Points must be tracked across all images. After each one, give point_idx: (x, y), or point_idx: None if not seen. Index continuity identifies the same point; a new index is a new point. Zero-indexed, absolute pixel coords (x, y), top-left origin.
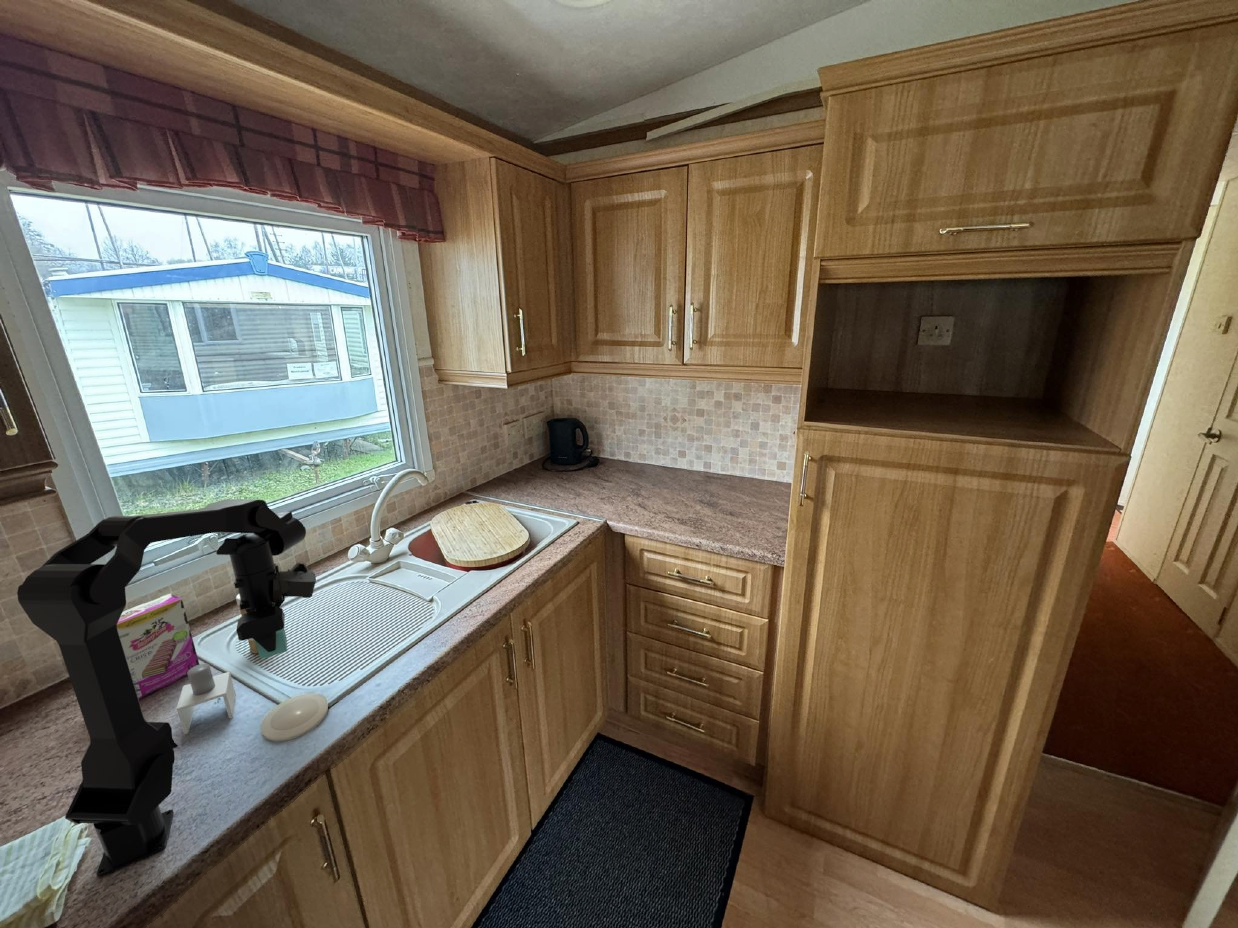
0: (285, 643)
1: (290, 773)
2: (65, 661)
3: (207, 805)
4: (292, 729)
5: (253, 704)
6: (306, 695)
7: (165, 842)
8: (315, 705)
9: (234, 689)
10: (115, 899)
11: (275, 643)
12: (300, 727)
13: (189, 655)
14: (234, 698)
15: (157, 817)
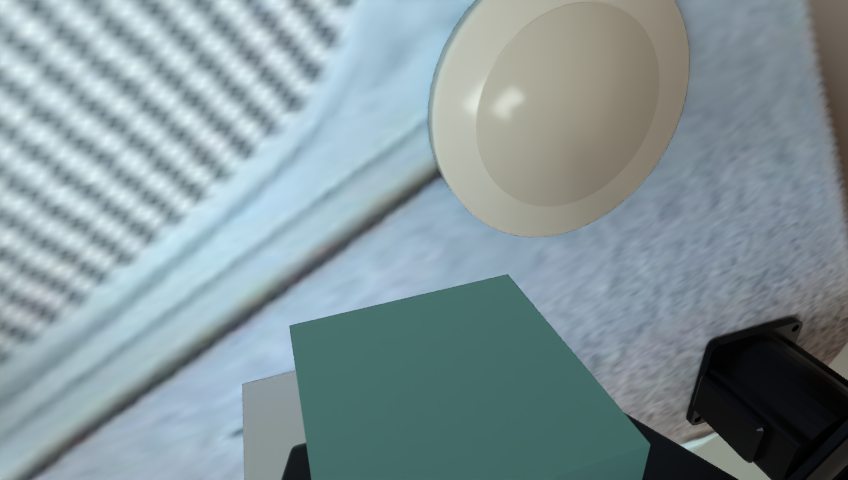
0: (511, 323)
1: (810, 85)
2: None
3: (743, 278)
4: (661, 108)
5: (351, 299)
6: (459, 74)
7: (793, 321)
8: (580, 18)
9: (246, 408)
10: (827, 345)
11: (630, 416)
12: (672, 76)
13: None
14: (290, 382)
15: (811, 369)
